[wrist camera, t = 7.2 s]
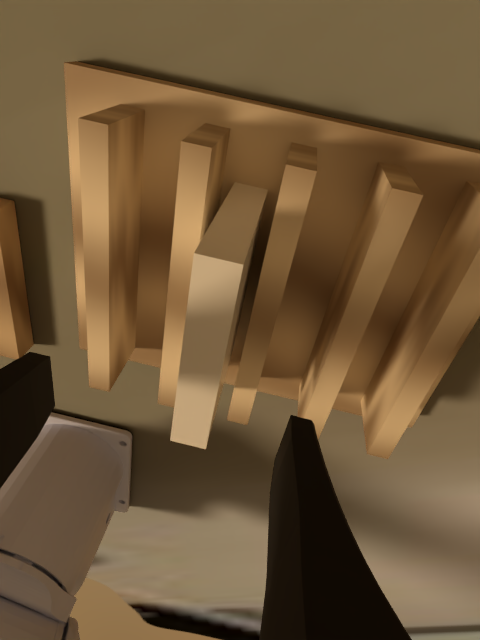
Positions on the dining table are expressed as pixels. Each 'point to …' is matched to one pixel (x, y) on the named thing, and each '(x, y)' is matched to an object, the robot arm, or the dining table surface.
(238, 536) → the dining table surface
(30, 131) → the dining table surface
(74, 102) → the rack
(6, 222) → the stand
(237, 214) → the upright beige panel
